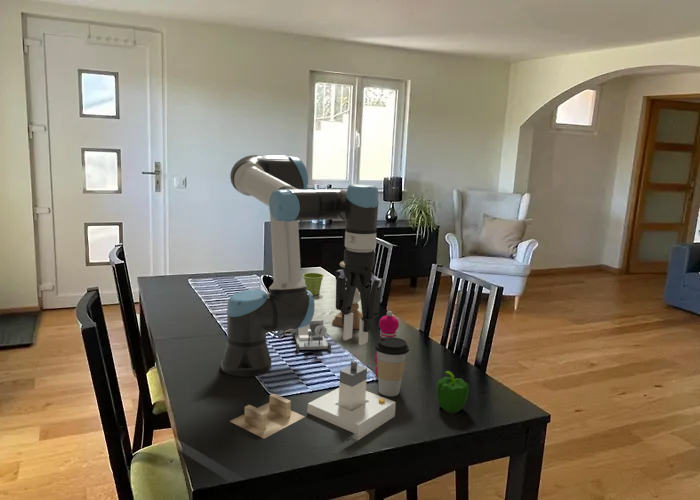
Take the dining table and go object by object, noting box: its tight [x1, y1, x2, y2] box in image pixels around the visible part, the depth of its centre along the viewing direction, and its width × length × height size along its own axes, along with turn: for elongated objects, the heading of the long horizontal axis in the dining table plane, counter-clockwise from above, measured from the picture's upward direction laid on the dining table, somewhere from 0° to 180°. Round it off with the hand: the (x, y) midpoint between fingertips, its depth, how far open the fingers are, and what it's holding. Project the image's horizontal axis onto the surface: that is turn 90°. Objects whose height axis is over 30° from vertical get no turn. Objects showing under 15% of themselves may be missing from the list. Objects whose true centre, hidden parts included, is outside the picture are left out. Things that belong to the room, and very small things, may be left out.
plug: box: [338, 360, 368, 411], centre depth 141 cm, size 4×6×14 cm, turn 142°
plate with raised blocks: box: [229, 393, 306, 440], centre depth 136 cm, size 12×14×6 cm
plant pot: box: [302, 272, 324, 296], centre depth 254 cm, size 9×9×9 cm
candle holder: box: [331, 260, 363, 330], centre depth 214 cm, size 11×11×24 cm
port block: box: [307, 387, 397, 441], centre depth 142 cm, size 16×16×5 cm
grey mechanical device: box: [291, 319, 332, 353], centre depth 190 cm, size 18×10×12 cm
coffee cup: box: [375, 337, 410, 397], centre depth 157 cm, size 9×9×15 cm
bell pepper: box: [436, 370, 470, 414], centre depth 149 cm, size 8×8×10 cm
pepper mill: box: [374, 310, 400, 376], centre depth 169 cm, size 7×7×20 cm
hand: (355, 340), depth 139 cm, fingers open, 4 cm apart
